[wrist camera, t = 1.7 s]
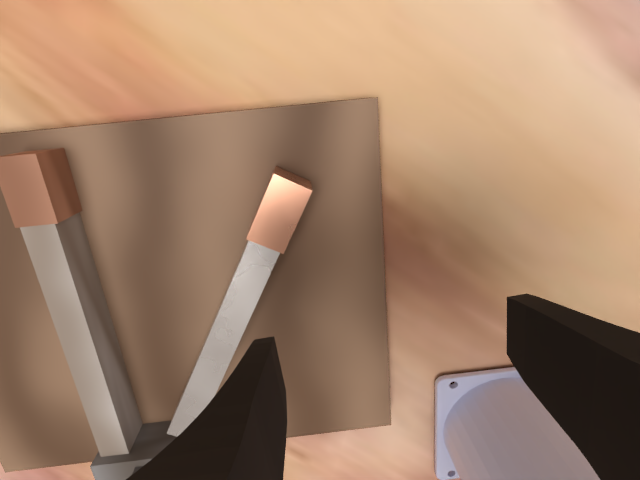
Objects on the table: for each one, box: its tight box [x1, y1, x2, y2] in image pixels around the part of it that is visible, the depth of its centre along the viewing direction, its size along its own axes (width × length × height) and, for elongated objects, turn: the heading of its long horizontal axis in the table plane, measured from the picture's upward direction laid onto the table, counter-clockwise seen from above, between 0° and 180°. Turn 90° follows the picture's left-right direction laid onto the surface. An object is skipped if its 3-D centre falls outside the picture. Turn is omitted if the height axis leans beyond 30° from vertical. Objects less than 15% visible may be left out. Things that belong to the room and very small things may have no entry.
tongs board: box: [0, 97, 391, 480], centre depth 19 cm, size 22×18×5 cm
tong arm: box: [167, 166, 313, 437], centre depth 19 cm, size 14×2×2 cm, turn 155°
